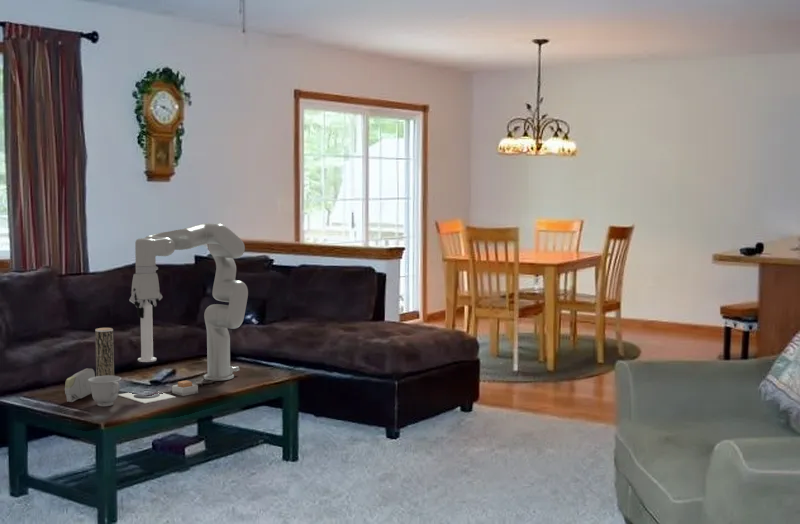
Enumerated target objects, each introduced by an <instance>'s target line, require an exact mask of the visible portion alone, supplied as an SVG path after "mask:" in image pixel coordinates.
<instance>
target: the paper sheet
mask: <svg viewBox="0 0 800 524" xmlns="http://www.w3.org/2000/svg"><path fill="white" fill-rule="evenodd" d="M162 393H163V394H159V393H158V394H154V395H152V396H144V395H140V394H132V393H129V392H124V393H118V396H117V397H122V398H125V399H128V400H131V401H133V402H134V401H135V402H137V403H141V404H143V405H145V404H150V403H155V402H160V401H161V402H162V401H166V400H171V399H175V398H177V396H174V395H171V394H169V393H164V392H162Z"/></svg>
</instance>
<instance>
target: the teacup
mask: <svg viewBox="0 0 800 524" xmlns="http://www.w3.org/2000/svg"><path fill="white" fill-rule="evenodd" d="M121 380H122V377H121V376H119V375H114V376H112V375H105V376H96V375H95V377H92V378H89V379H88V381H89V382H90V385H91V392H92V393H91V395H92V399H93V400H94V402H96V403H97V406H98V407H109V406H113V405H114V401H115V400H117V398H118V397H119V396H118V394H119V391H120V390H121V389H120V381H121Z"/></svg>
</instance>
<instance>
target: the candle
mask: <svg viewBox="0 0 800 524" xmlns="http://www.w3.org/2000/svg"><path fill="white" fill-rule="evenodd" d="M142 308H144V318H140V357H138V358H137V361H138V362H140V363H141V362H142V363H151V362H152V363H153V362H156V361H157V357H155V356H154V341H153V339H154V338H153V337H154V335H153V334H154V333H153V329H154V327H153V326H154V325H153V322H154V321H153V317H152V305H151V304H150V301H149V299H148V300H143V305H142Z"/></svg>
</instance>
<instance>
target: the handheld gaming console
mask: <svg viewBox="0 0 800 524" xmlns="http://www.w3.org/2000/svg"><path fill="white" fill-rule="evenodd" d="M92 377H96V371H95V370H94V369H93V368H88V367H87V368H84V369H82V370H80V371H78V372H76V373H74V374H73V375H71V376H69V377H67V378H66V380H65V382H64V383H65V386H64V394H65V396H66V402H67V403H68V402H69V403H73V402H75V401H77V400H79V399H83V398H86V397H87V396H89V395H90V394H92V392H91V385H90V382H89V381H88V379H89V378H92Z"/></svg>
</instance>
